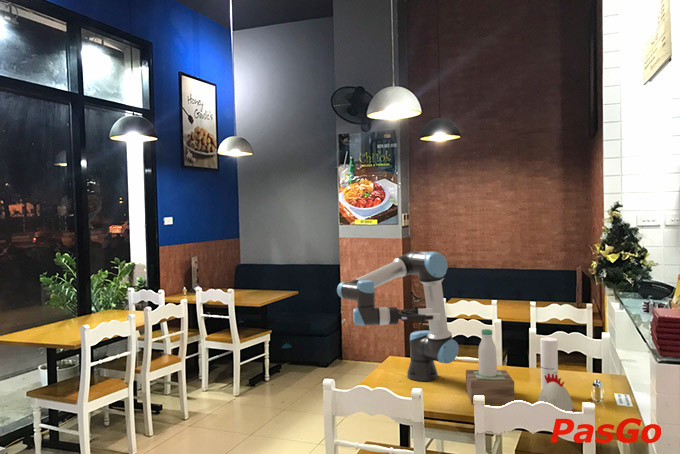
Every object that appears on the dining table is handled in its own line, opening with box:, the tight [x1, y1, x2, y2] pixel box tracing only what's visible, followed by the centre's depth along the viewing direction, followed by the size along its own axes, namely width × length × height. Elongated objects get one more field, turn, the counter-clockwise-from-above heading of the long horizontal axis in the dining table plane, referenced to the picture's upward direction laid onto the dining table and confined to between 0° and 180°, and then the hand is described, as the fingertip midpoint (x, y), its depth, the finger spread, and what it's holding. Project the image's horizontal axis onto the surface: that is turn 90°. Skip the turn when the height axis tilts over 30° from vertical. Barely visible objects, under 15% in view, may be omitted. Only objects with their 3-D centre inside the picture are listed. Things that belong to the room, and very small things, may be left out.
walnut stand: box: [465, 369, 516, 405], centre depth 242 cm, size 18×18×10 cm
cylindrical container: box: [539, 336, 559, 391], centre depth 243 cm, size 7×7×25 cm
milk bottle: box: [477, 328, 498, 377], centre depth 242 cm, size 8×8×20 cm
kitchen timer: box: [537, 373, 574, 411], centre depth 225 cm, size 14×14×15 cm
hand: (436, 313), depth 241 cm, fingers open, 13 cm apart
